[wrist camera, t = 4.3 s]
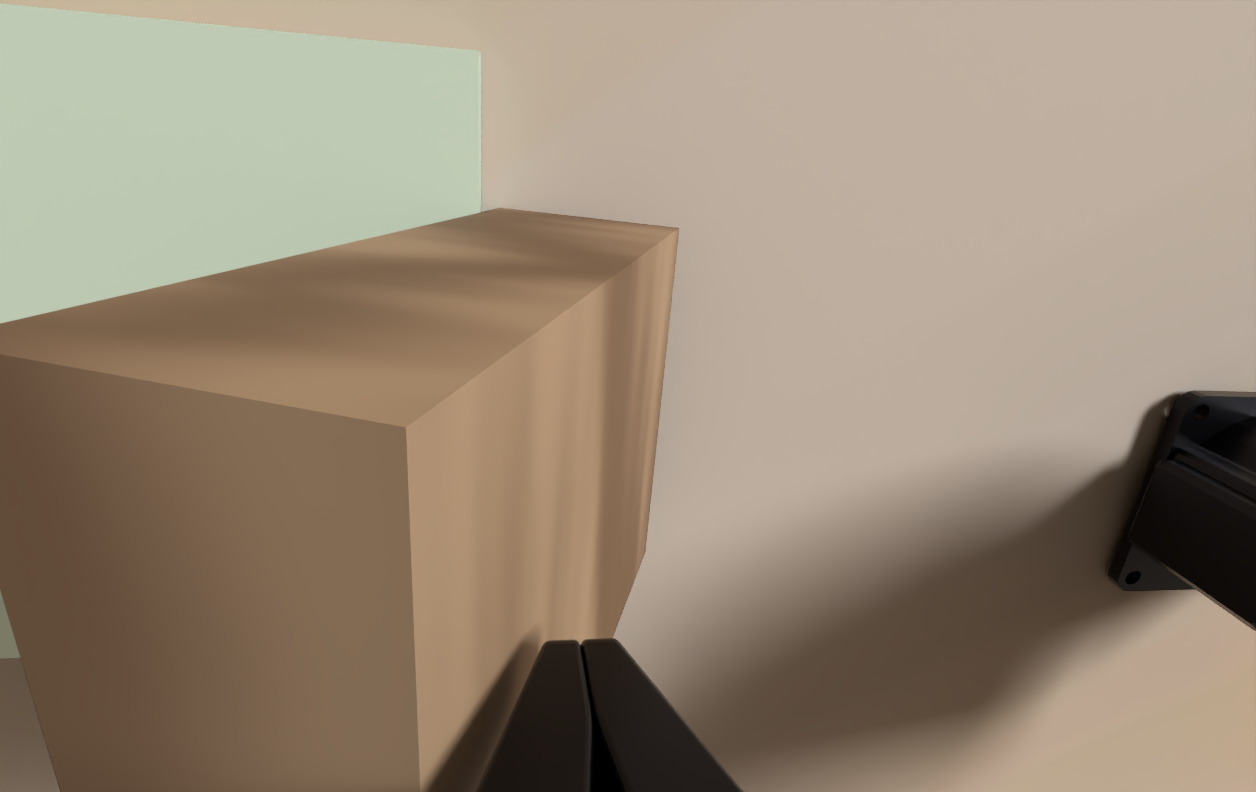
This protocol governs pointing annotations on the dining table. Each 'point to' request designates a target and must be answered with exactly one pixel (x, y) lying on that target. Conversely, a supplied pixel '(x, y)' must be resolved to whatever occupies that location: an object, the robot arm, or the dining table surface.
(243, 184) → the rubber pad
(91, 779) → the walnut block
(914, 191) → the dining table surface
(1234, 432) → the robot arm
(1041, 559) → the dining table surface
